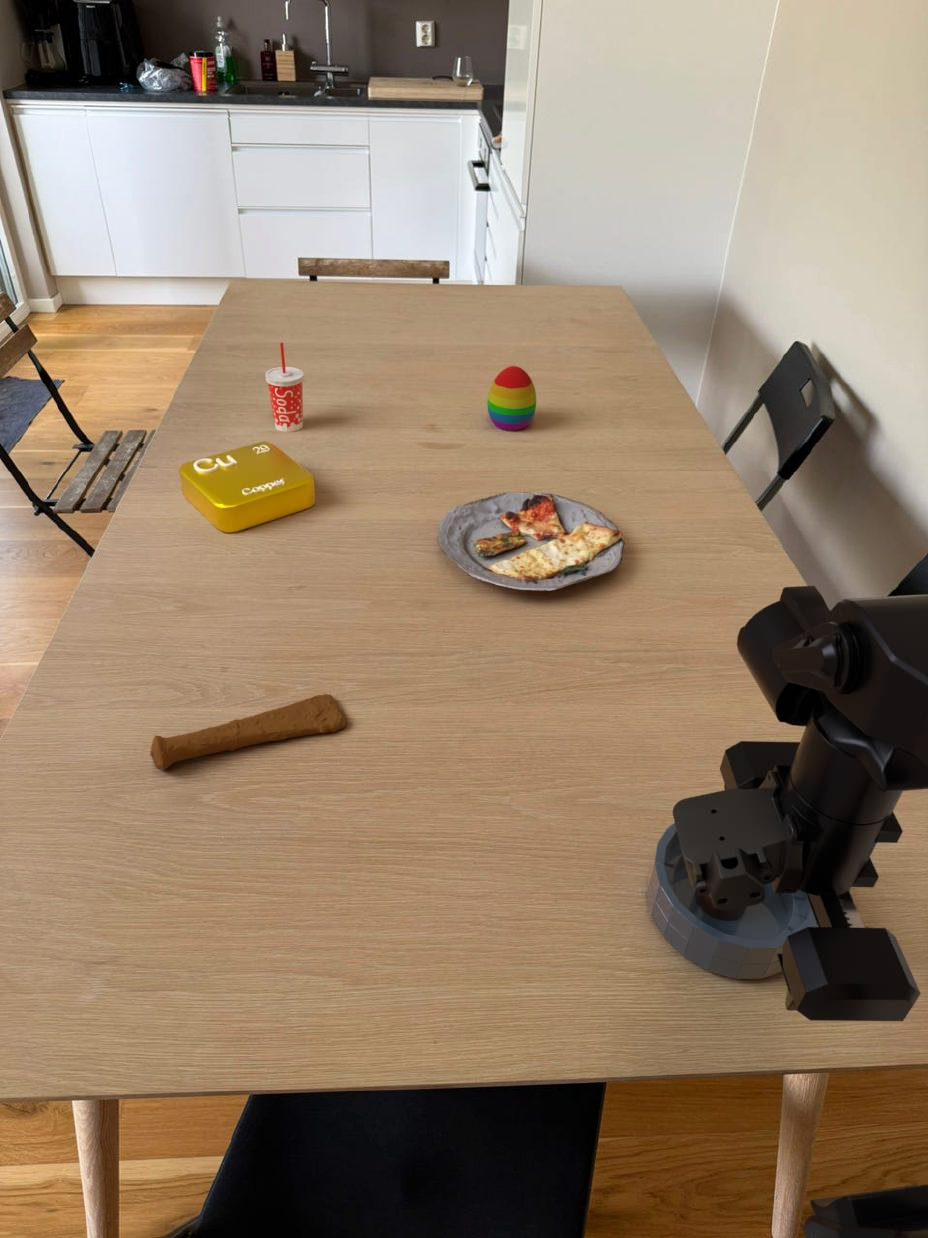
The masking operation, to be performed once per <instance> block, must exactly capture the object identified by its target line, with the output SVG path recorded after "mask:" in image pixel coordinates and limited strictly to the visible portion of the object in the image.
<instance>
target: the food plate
mask: <svg viewBox="0 0 928 1238" xmlns="http://www.w3.org/2000/svg"><path fill="white" fill-rule="evenodd" d="M623 535H624V534H623V532H622V531H621V530H619V528H618V526H616V524H614V522H613V521H611V520H610V519H609V518H608V517H607V516H606V515H605V514H604V513H602V512H601V510H598V509H596V508H594V507H592V506H591V505H589V504H586V503H584V502H581V501H578V500H575V499H571V498H568V497H565V496H561V495H559V494H554V493H552V492H551V493H550V492H549V493H547V492H546V493H545V492H538V493H536V492H531V491H524V492H511V491H510V492H503V493H499V494H495V495H490V496H487V497H485V498H479V499H477V500H474V501H469V502H466V503H464V504H460V505H456V506H454V507H453V508H452V509H450V510H449V511H446V513H445V514H443V516H442V517H441V519H440V522H439V524H438V527H437V537H436V538H437V541H438V544H439V546H440V548H441V549H442V551H443V552H444V553H445V555H447V556H448V557H449V558H450V560H452V562H453V563H455V565H457V566H459V568H460V569H462V570H463V571H464V572H466V574H468V575H469V576H471V577H473V578H474V579H477V580H480V581H482V582H487V583H490V584H494V585H496V586H499V587H503V588H509V589H514V590H522V591H523V590H524V591H539V592H541V591H543V592H544V591H548V592H550V591H551V592H552V591H556V590H558V589H563V588H564V587H565V588H566V587H568V586H570V585H574V584H576V585H577V584H579V583H581V582H585V581H588V580H589V579H592V578H595V577H599V576H601V575H604V574H605V573H610V572H612V571H614V570H615V569H616V568H618V567H619V566H620V565H621V563H622V561H623V556H624V549H625V544H626V543H625V541H624V539H623Z"/></svg>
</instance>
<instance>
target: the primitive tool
mask: <svg viewBox="0 0 928 1238" xmlns="http://www.w3.org/2000/svg"><path fill="white" fill-rule="evenodd" d="M347 726H348V720H347V718H346V717H345V714H344V712H343V710H342V709H341V707H340V706H339V704H338V702H337V701H336V699H335V698H334V696H333V695H332V694H329V693H323V694H318V695H314V696H311V697H309V698H305V699H303V700H300V701H297V702H293V703H291V704H289V705H285V706H281V707H278V708H273V709H271V710H267V711H263V712H260V713H257V714H255V715H251V716H248V717H244V718H241V719H238V718H237V719H236V718H235V719H232V720H230V721H229V722H227V723H224V724H220V725H216V726H211V727H207V728H202V729H199V730H197V731H193V732H187V733H184V734H178V735H174V736H168V737H163V736H161V735H154V737H153V738H152V743H151V746H150V752H149V755H150V757H151V759H152V761H153V764H154V766H155V768H156V769H158V770H159V771H165V770H166V769H168V768H169V767H170V766H171V765H172V764H174V763H176V762H181V761H183V760H188V759H194V758H197V757H200V756H205V755H212V754H216V753H221V752H224V751H230V752H232V751H233V752H234V751H235V750H237V749H240V748H244V747H248V746H253V745H258V744H262V743H268V742H272V741H273V742H276V741H279V740H282V741H283V740H286V739H292V738H296V737H303V736H311V735H317V734H326V733H328V732H330V733H335V732H337V731H338V730H342V729H344V728H345V727H347Z"/></svg>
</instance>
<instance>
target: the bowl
mask: <svg viewBox="0 0 928 1238" xmlns="http://www.w3.org/2000/svg"><path fill="white" fill-rule="evenodd" d="M653 855H654V856H653V859H652V862H651V866H650V870H649V874H648V880H647V886H646V893H645V895H646V901H647V905H648V909H649V913H650V917H651V919H652V921H653V922H654V924H655V926H656V928H657V929H658V931H659V933H660V934H661V936H662V937H663V938H664V940H665V941H666V942H667V943H668V944H669V945H670V946H671V947H673V949H674V950H676V951H677V952H678V954H679V955H680V956H682V957H683V958H684V959H686V960H688V961H689V962H692V963H693V964H695V965H696V966H699V967H700V968H702V969H704V970H705V971H708V972H710V973H714V974H718V975H721V976H725V977H728V978H731V979H736V980H762V979H767V978H768V977H771V976H774V975H777V974H780V973H783V972H782V969H781V965H780V962H779V959H778V956H777V954H783V950H782V947H783V944H784V942H785V940H786V938H787V936H789V935H791V934H793V933H795V932H798V931H800V930H802V929H804V928H807V927H817V926H818V925H817V923H816V920H815V917H814V915H813V912H812V909H811V906H810V904H809V901H808V898H807V895H806V893H805V892H802V891H800V890H798V891H797V892H796V893H774V890H773V887H772V884H771V883H769V884H766V885H765V886H764V889H765V894H766V898H765V899H764V900H763V901H762V902H761V903H759V904H757V905H752V906H747V908H746V910H745V912H744V914H743V915H742V916H740V917H739V918H737V919H734V920H720V919H716V918H714V917H712V916H710V915H708V914H707V913H706V912H705V911H703V910H702V908H701V907H700V906H699V904H698V903H697V900H696V897H695V891H694V888H693V887H692V885H691V883H690V879H689V876H688V872H687V868H686V865H685V861H684V857H683V854H682V850H681V846H680V842H679V838H678V834H677V830H676V826H675V822H674V823H672V824H670V825H669V826H668V827H667V828H666V829H665V831H664V832H663V834H662V836H661V837H660V838H659V840H658V842H657V844H656V848H655V852H654V854H653Z"/></svg>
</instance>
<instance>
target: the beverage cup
mask: <svg viewBox="0 0 928 1238" xmlns="http://www.w3.org/2000/svg"><path fill="white" fill-rule="evenodd" d="M279 346H280V347H279V348H280V357H281V366H278V367H274V368H273V367H272V368H270V369H269V370H266V372H265V373H264V377H265V382H266V383H267V386H268V392H269V398H270V404H271V410H272V416H273V422H274V428H275V429H276V430H277V431H278V432H279V431H280V432H284V433H294V432H296V431H299V430H301V429H302V428H303V427H304V404H303V403H304V399H303V392H304V391H303V381H304V380H305V379H304V378H305V374H304V371H303V370H302V369H301V368H298V367H294V366H286V360H285V350H284V342H279Z"/></svg>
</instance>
